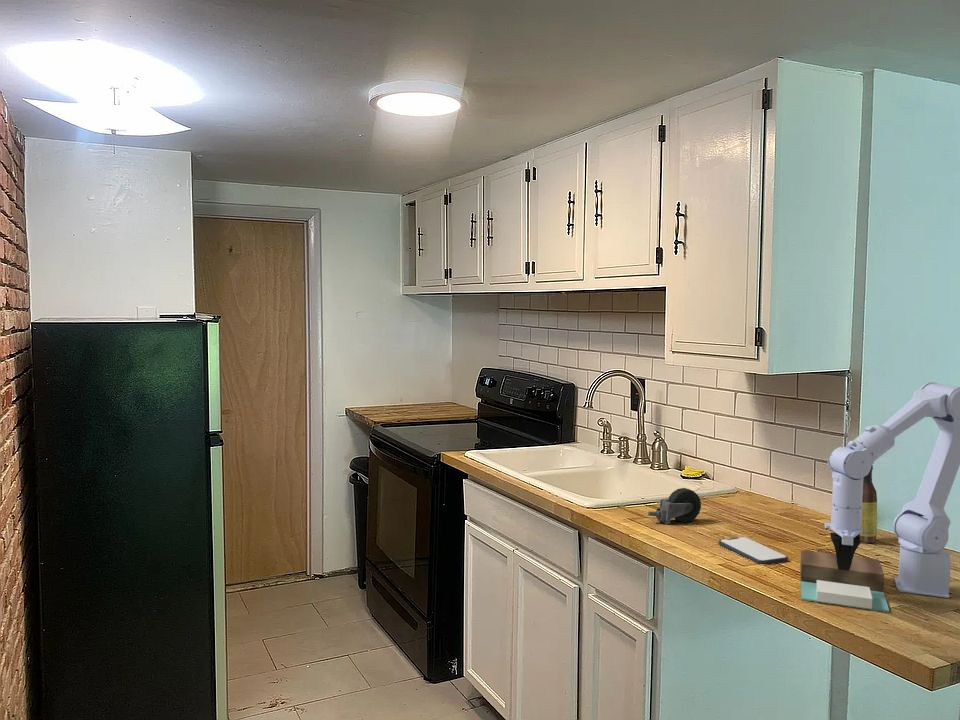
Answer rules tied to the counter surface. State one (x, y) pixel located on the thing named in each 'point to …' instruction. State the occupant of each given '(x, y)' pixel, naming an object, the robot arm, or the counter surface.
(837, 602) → the tile
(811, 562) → the block
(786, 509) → the counter surface
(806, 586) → the mat
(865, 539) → the sauce bottle
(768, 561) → the phone case
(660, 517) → the caster wheel
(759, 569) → the counter surface
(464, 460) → the counter surface
